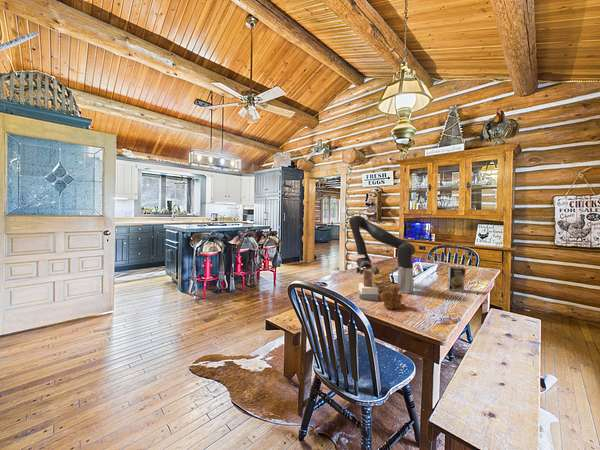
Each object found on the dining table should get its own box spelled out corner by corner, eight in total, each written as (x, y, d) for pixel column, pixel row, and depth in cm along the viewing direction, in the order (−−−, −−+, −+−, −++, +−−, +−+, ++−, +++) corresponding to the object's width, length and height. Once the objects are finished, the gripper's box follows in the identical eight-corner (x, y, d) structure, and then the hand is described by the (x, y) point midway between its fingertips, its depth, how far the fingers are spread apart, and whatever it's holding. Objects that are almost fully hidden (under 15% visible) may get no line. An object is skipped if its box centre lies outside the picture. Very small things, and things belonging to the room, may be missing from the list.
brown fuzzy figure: (407, 307, 149) (407, 285, 147) (391, 312, 141) (392, 289, 140) (392, 302, 157) (393, 281, 156) (376, 306, 149) (377, 284, 148)
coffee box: (449, 291, 177) (450, 268, 176) (446, 288, 184) (448, 266, 182) (464, 292, 175) (465, 269, 173) (461, 289, 181) (462, 267, 180)
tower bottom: (375, 295, 170) (375, 289, 169) (377, 301, 159) (377, 295, 158) (358, 294, 171) (358, 288, 171) (359, 300, 160) (359, 294, 160)
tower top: (373, 289, 170) (374, 283, 169) (377, 294, 160) (378, 288, 159) (358, 288, 170) (358, 283, 170) (361, 294, 160) (361, 287, 160)
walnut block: (371, 284, 167) (371, 269, 166) (371, 286, 162) (372, 271, 161) (363, 283, 168) (363, 268, 167) (363, 286, 163) (364, 270, 162)
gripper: (355, 261, 180) (357, 267, 164) (376, 262, 178) (380, 268, 162) (355, 272, 181) (357, 278, 165) (376, 273, 179) (380, 279, 163)
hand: (368, 273), depth 164 cm, fingers open, 8 cm apart
